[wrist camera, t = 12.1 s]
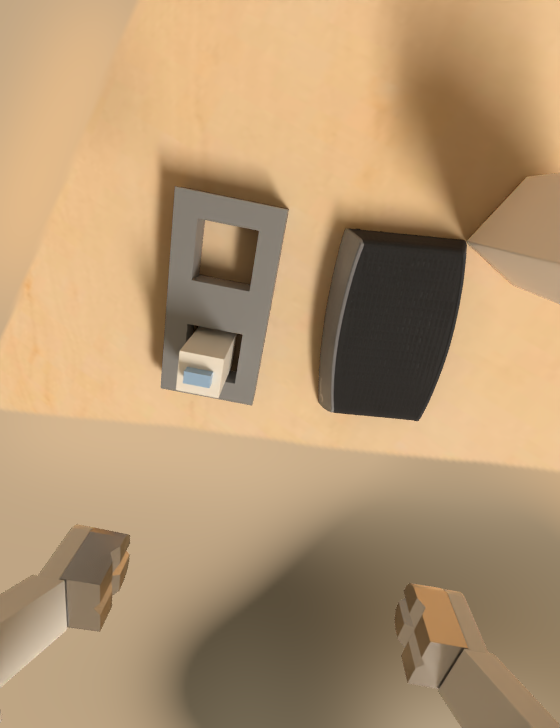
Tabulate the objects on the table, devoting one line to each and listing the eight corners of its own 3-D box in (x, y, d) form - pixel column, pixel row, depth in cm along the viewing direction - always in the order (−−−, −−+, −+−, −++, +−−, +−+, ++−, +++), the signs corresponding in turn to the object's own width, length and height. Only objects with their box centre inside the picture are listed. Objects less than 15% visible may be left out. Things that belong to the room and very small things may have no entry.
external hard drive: (311, 400, 45) (313, 418, 41) (337, 226, 37) (342, 229, 33) (422, 412, 44) (434, 432, 41) (471, 240, 37) (491, 244, 33)
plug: (201, 323, 41) (176, 354, 33) (237, 331, 41) (221, 363, 33) (197, 357, 42) (172, 395, 34) (232, 364, 43) (216, 403, 34)
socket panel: (184, 187, 36) (174, 186, 33) (288, 209, 36) (287, 209, 33) (169, 376, 44) (160, 388, 41) (255, 392, 44) (252, 405, 41)
